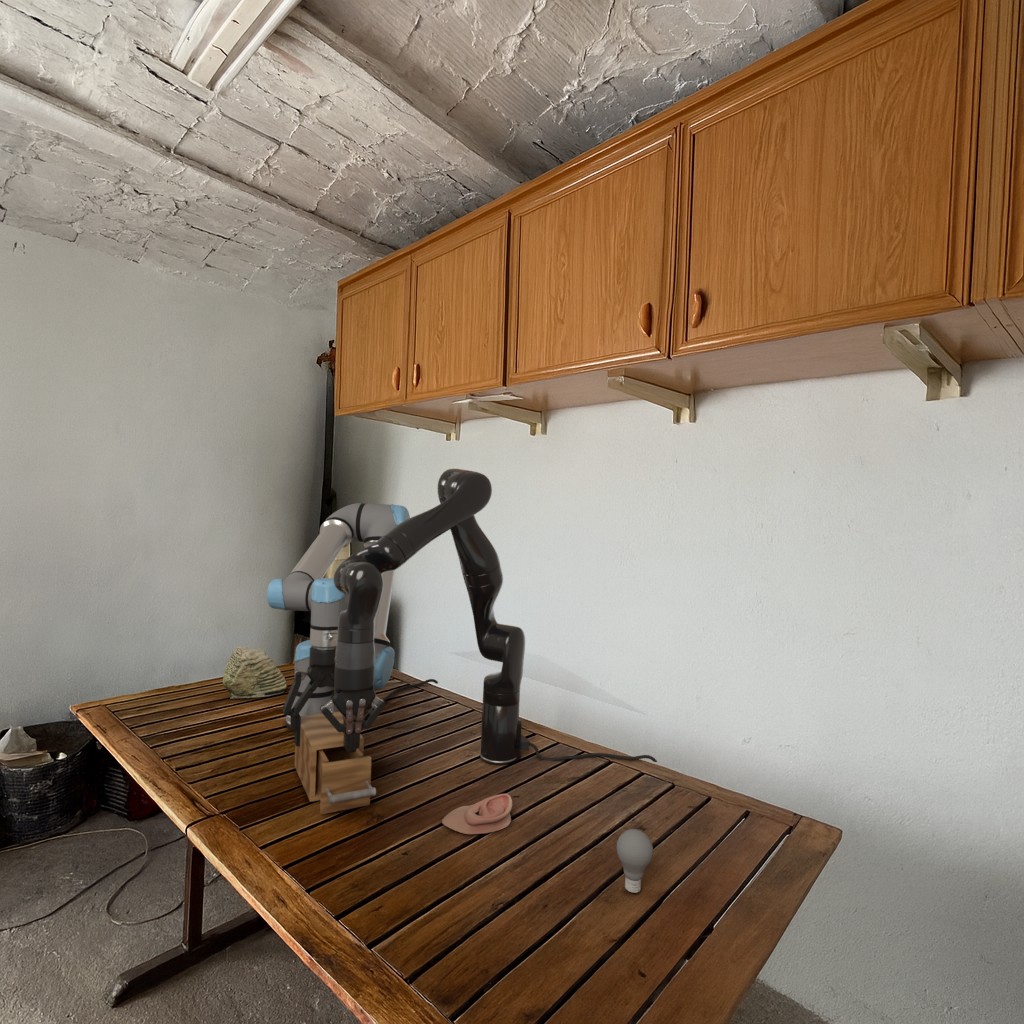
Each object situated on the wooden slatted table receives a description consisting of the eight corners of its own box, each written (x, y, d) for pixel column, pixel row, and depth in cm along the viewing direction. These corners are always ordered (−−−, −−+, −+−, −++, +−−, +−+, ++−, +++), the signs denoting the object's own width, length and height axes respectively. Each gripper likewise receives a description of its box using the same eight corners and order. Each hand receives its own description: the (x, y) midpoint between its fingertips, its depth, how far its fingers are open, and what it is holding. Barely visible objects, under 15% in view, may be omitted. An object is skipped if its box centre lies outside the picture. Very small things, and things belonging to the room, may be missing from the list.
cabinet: (362, 792, 136) (364, 738, 136) (309, 802, 131) (311, 745, 131) (341, 759, 153) (343, 711, 153) (294, 766, 148) (296, 716, 148)
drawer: (377, 817, 124) (379, 768, 124) (326, 827, 119) (328, 776, 119) (348, 770, 144) (350, 728, 144) (304, 778, 140) (306, 734, 140)
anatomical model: (437, 809, 122) (454, 783, 133) (436, 829, 122) (453, 802, 133) (504, 819, 119) (516, 792, 131) (503, 840, 119) (515, 811, 131)
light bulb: (610, 879, 108) (613, 822, 108) (644, 879, 109) (647, 822, 109) (619, 902, 102) (622, 840, 102) (655, 901, 103) (658, 840, 103)
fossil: (218, 695, 195) (220, 647, 195) (278, 685, 208) (279, 640, 207) (228, 703, 189) (230, 653, 188) (289, 692, 201) (290, 645, 201)
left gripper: (275, 653, 137) (271, 754, 138) (381, 646, 148) (377, 739, 149) (270, 645, 144) (267, 741, 144) (372, 639, 155) (368, 728, 155)
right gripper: (324, 670, 117) (320, 763, 117) (393, 664, 123) (390, 753, 124) (316, 660, 124) (312, 748, 124) (382, 655, 130) (379, 739, 130)
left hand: (323, 740), depth 146 cm, fingers closed on cabinet, 11 cm apart
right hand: (351, 750), depth 124 cm, fingers closed
